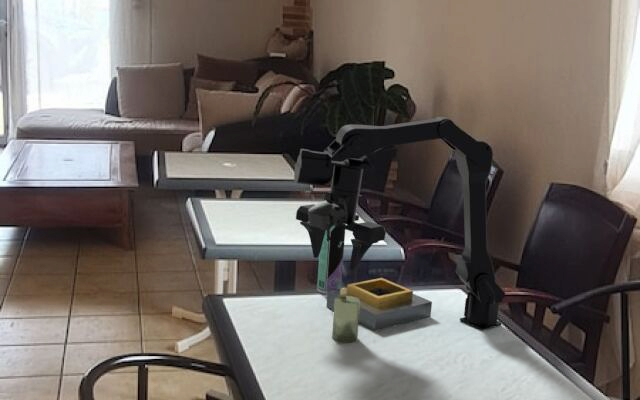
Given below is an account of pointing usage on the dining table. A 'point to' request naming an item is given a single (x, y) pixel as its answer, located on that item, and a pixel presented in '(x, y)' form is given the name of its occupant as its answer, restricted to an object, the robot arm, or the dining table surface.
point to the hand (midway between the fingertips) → (333, 263)
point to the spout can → (345, 318)
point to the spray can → (331, 260)
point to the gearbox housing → (384, 303)
